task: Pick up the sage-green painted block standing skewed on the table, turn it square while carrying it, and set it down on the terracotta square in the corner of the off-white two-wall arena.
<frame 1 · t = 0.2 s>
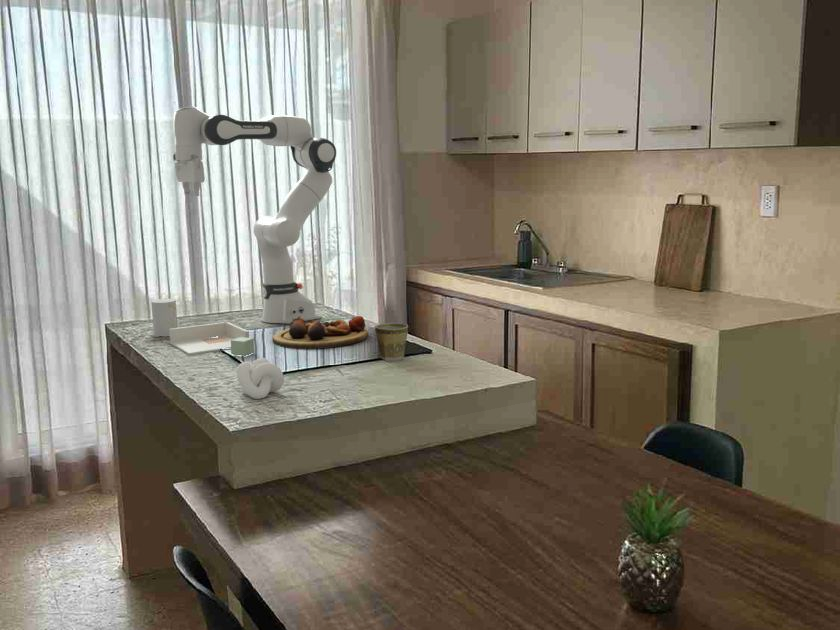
hand: (191, 195, 286), 48 cm above the table, tool pointing down, fingers open, 8 cm apart
wooden plate with food: (320, 340, 277), on the table
white knot sculpture: (262, 395, 211), on the table
arena: (209, 344, 270), on the table
cube: (243, 355, 256), on the table
cup: (166, 335, 288), on the table
ceramic cup: (393, 358, 249), on the table
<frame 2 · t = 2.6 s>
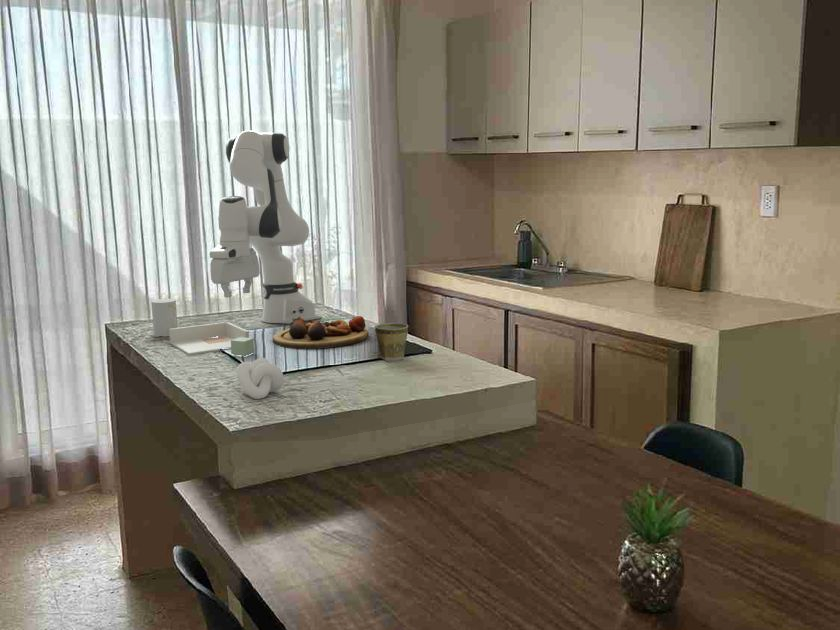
hand: (237, 295, 253), 19 cm above the table, tool pointing down, fingers open, 8 cm apart
nothing on the table moved.
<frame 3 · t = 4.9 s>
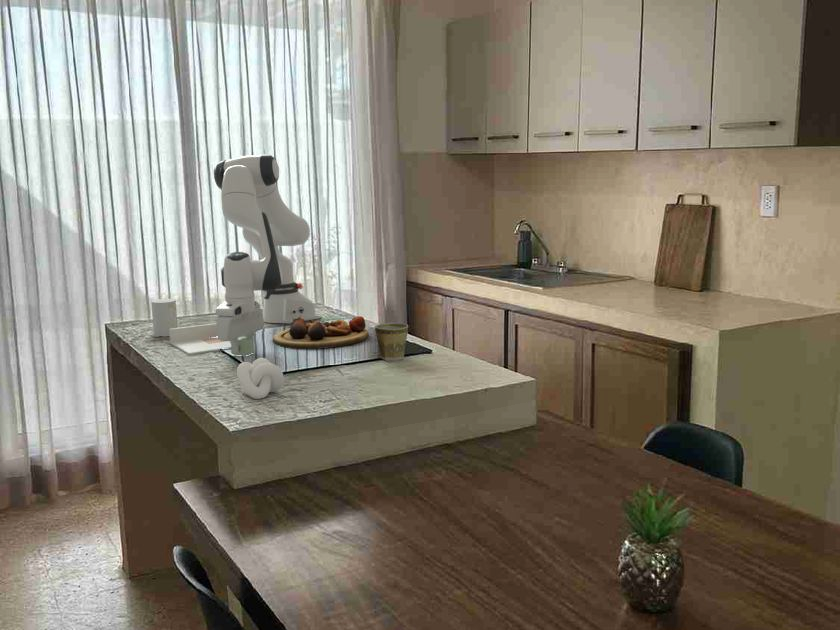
hand: (242, 349, 255), 2 cm above the table, tool pointing down, fingers closed on cube, 5 cm apart
cube: (243, 354, 256), on the table, touching gripper
everything else where it was.
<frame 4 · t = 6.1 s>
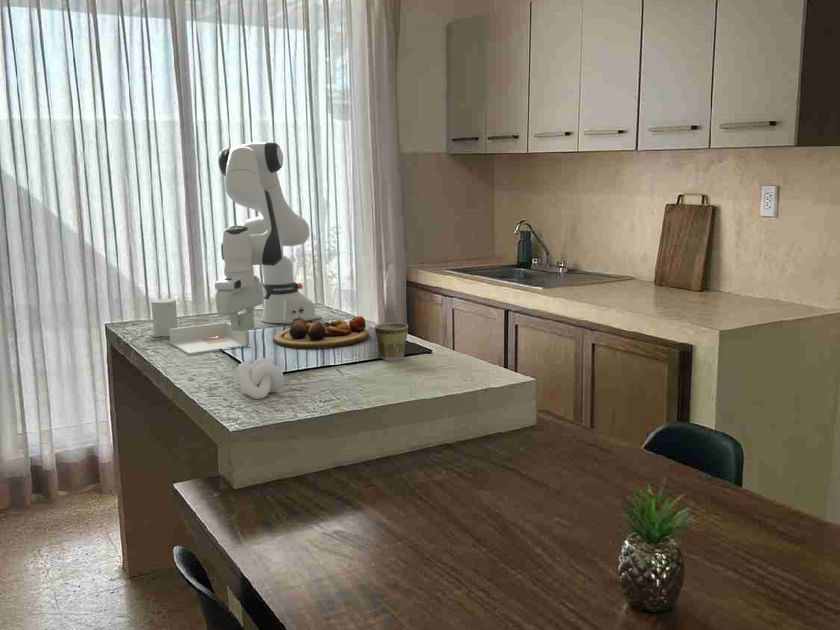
hand: (242, 323, 254), 10 cm above the table, tool pointing down, fingers closed on cube, 5 cm apart
cube: (243, 329, 255), point 8 cm above the table, touching gripper
everything else where it was.
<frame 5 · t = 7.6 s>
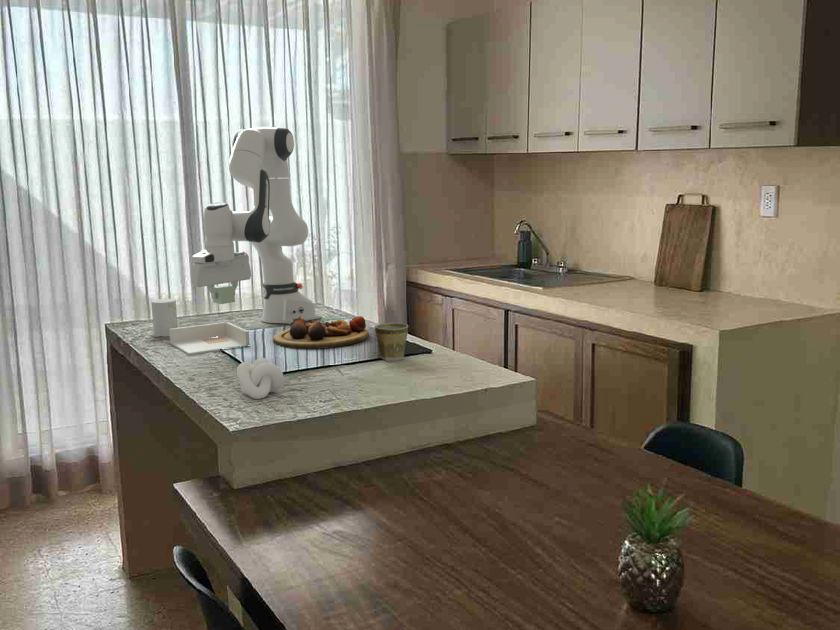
hand: (223, 297, 265), 16 cm above the table, tool pointing down, fingers closed on cube, 5 cm apart
cube: (224, 302, 265), point 15 cm above the table, touching gripper
everything else where it was.
when the fingers open (4 cm above the table, at t = 10.5 s): cube drops 1 cm, resting on arena.
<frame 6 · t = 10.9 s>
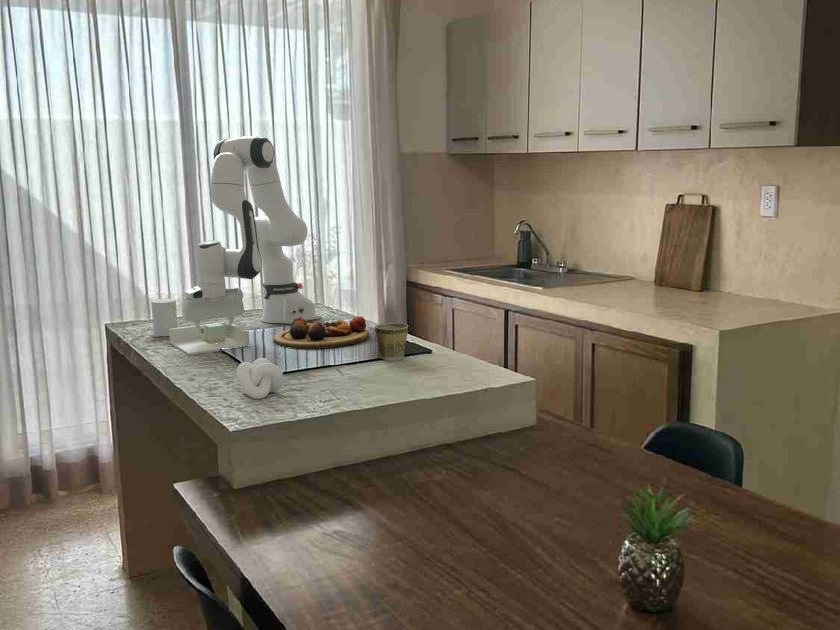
hand: (214, 331, 274), 4 cm above the table, tool pointing down, fingers open, 8 cm apart
cube: (215, 340, 274), point 1 cm above the table, touching arena
everything else where it was.
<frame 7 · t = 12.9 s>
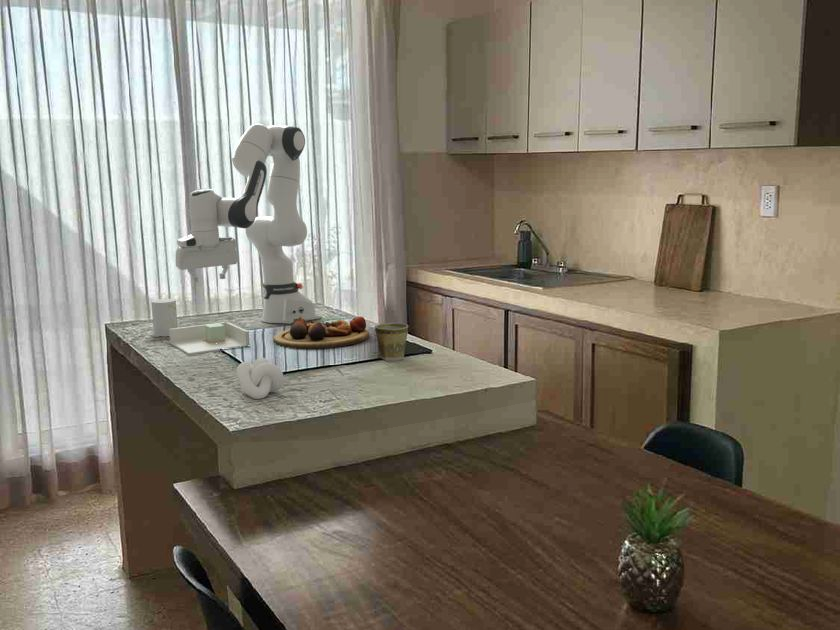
hand: (208, 280, 273), 20 cm above the table, tool pointing down, fingers open, 8 cm apart
nothing on the table moved.
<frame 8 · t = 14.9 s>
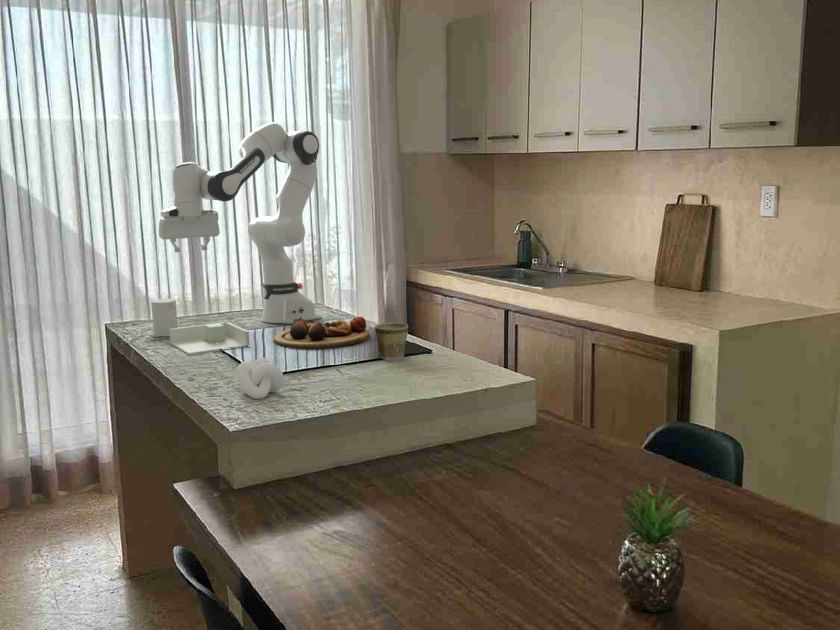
hand: (191, 251, 282), 29 cm above the table, tool pointing down, fingers open, 8 cm apart
nothing on the table moved.
at the end: cube 0.0 cm from the target spot, point 0.7 cm above the table; cube tilted 0°; the gripper is holding nothing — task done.
